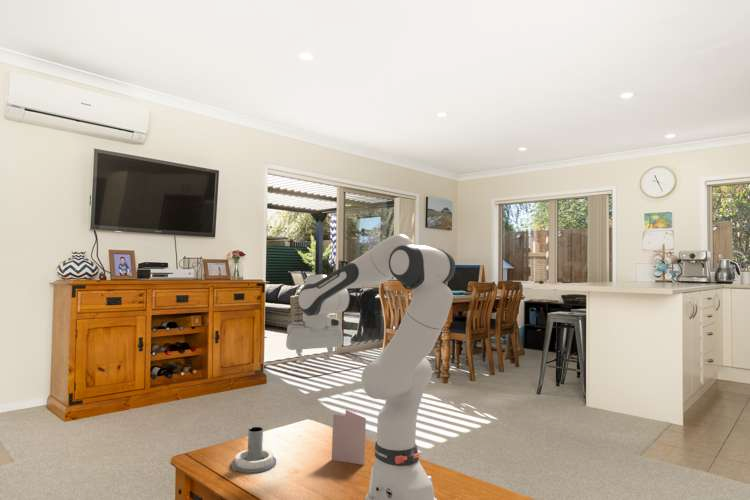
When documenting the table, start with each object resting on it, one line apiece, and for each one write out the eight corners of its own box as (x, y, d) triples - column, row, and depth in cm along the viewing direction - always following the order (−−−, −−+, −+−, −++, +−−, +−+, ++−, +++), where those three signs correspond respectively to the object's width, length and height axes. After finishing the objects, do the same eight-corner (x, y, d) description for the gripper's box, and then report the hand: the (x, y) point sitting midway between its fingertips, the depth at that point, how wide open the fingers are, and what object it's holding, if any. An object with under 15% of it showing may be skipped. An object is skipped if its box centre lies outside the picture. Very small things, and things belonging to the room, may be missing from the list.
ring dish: (282, 468, 152) (282, 459, 153) (238, 476, 145) (238, 467, 145) (268, 452, 164) (268, 444, 164) (226, 460, 157) (226, 451, 157)
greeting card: (366, 464, 158) (367, 417, 158) (347, 469, 153) (349, 421, 154) (346, 453, 167) (347, 409, 167) (328, 457, 162) (329, 412, 163)
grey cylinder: (258, 465, 152) (259, 432, 153) (244, 463, 153) (246, 430, 153) (263, 459, 157) (265, 427, 157) (250, 458, 157) (252, 426, 158)
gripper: (290, 323, 159) (289, 365, 158) (345, 320, 170) (344, 360, 169) (283, 321, 164) (282, 362, 163) (337, 319, 175) (336, 357, 174)
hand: (314, 361), depth 166 cm, fingers open, 8 cm apart
